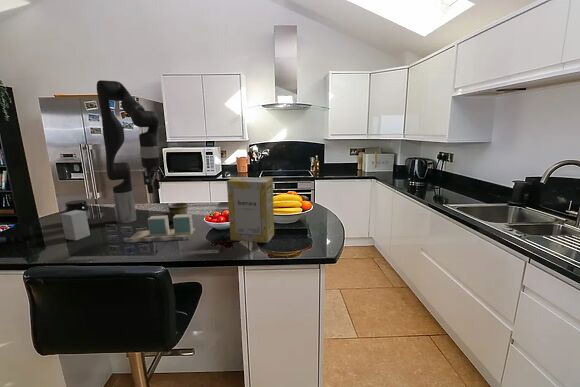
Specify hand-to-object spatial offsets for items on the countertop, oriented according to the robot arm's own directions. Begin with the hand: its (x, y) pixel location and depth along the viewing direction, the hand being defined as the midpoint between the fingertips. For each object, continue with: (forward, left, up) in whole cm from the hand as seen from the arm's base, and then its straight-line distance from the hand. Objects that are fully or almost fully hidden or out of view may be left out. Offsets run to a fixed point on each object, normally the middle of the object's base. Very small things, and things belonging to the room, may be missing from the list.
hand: (154, 191), depth 131 cm
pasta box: (+45, -8, -23) cm, 51 cm away
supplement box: (-40, +4, -23) cm, 46 cm away
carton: (+1, -3, -21) cm, 21 cm away
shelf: (+2, -2, -23) cm, 23 cm away
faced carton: (+12, -2, -21) cm, 24 cm away
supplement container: (-53, +28, -23) cm, 64 cm away
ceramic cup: (+3, +21, -23) cm, 32 cm away
